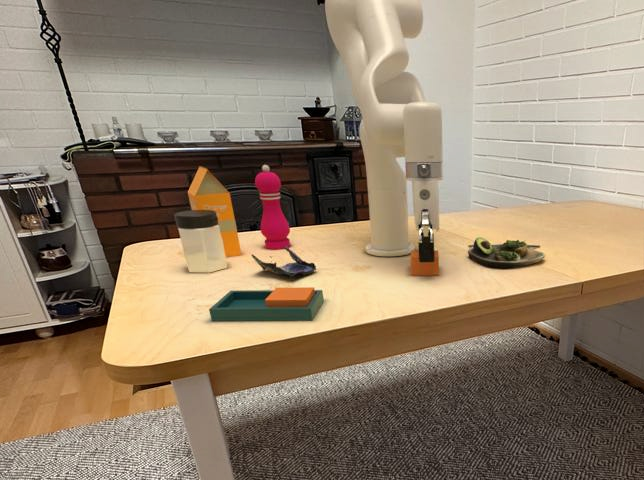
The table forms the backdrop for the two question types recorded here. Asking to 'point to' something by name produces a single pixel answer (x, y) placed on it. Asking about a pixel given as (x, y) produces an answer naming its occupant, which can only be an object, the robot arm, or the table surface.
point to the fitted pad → (290, 297)
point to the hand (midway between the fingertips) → (426, 256)
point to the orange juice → (215, 207)
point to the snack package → (288, 265)
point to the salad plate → (504, 253)
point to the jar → (201, 240)
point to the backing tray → (260, 307)
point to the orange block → (424, 264)
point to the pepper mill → (272, 210)
